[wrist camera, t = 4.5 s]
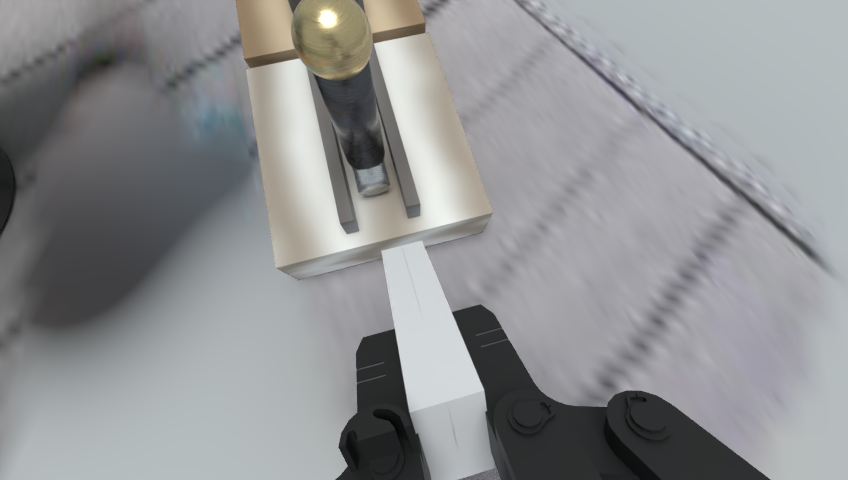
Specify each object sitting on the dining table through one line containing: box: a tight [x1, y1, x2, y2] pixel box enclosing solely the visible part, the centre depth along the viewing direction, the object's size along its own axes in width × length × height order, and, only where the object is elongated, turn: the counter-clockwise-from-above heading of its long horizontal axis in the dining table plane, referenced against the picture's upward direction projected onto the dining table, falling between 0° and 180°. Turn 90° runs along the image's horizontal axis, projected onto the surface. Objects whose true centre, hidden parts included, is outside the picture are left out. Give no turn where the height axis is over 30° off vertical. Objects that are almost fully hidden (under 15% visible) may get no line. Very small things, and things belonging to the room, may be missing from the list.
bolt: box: [291, 0, 390, 196], centre depth 18 cm, size 3×12×12 cm, turn 15°
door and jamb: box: [236, 0, 493, 280], centre depth 25 cm, size 14×25×8 cm, turn 15°
